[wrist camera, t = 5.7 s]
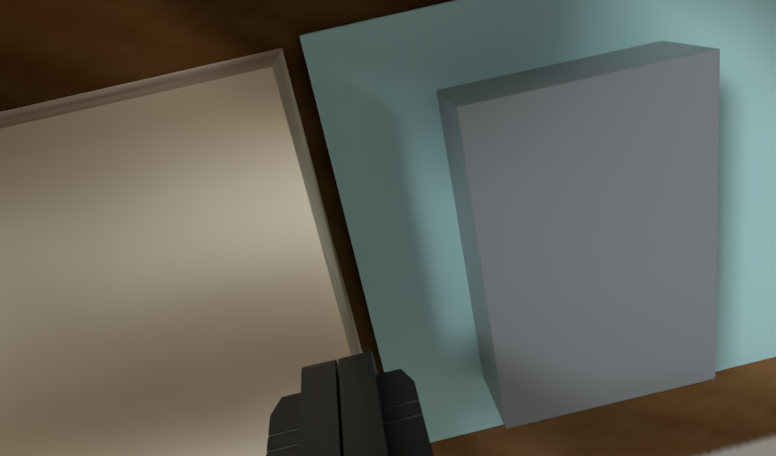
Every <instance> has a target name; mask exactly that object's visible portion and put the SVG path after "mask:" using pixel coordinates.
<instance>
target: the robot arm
mask: <svg viewBox="0 0 776 456" xmlns="http://www.w3.org/2000/svg"><path fill="white" fill-rule="evenodd" d="M268 436H269V438H268V441H267V454H266V456H433V452H432V448H431V444H430V440H429V437H428V433H427V429H426V425H425V421H424V417H423V413H422V409H421V405H420V402H419V398H418V394H417V390H416V386H415V382H414V380H413V379H411V378H410V377H409V376H408V375H407V374H406V373H405V372H404V371H403V370H402V369H397V370H393V371H388V372H384V373H380V374H378V373H377V369H376V365H375V361H374V357H373V354H372V351H369V352H365V353H360V354H356V355H352V356H348V357H343V358H339V359H338V363H337V360H336V359H335V360H331V361H327V362H323V363H318V364H314V365H310V366H306V367H302V371H301V393H296V394H292V395H288V396H284V397H281V399H280V401H279V402H278V404H277V405H276V407H275V409H274V410H273V412H272V413H271V415H270V421H269V431H268Z"/></svg>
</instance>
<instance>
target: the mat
mask: <svg viewBox="0 0 776 456" xmlns="http://www.w3.org/2000/svg"><path fill="white" fill-rule="evenodd" d="M299 37H300V41H301V44H302V48H303V52H304V56H305V60H306V64H307V68H308V72H309V76H310V80H311V84H312V88H313V92H314V96H315V100H316V104H317V108H318V112H319V116H320V120H321V124H322V128H323V132H324V136H325V140H326V144H327V148H328V152H329V156H330V160H331V164H332V167H333V171H334V175H335V179H336V183H337V187H338V191H339V195H340V199H341V203H342V207H343V211H344V215H345V219H346V223H347V227H348V231H349V235H350V239H351V243H352V247H353V251H354V255H355V259H356V263H357V267H358V271H359V275H360V279H361V283H362V287H363V290H364V294H365V298H366V302H367V306H368V310H369V314H370V318H371V322H372V326H373V330H374V334H375V338H376V342H377V346H378V350H379V354H380V358H381V362H382V366H383V370H384V372H388V371H393V370H397V369H402V370H403V371H404V372H405V373H406V374H407V375H408V376H409V377H410V378H411V379H413V380H414V382H415V386H416V390H417V394H418V398H419V402H420V405H421V409H422V413H423V417H424V421H425V425H426V429H427V433H428V437H429V440H430V443H431V442H435V441H439V440H443V439H447V438H451V437H455V436H459V435H463V434H467V433H471V432H475V431H479V430H483V429H487V428H491V427H495V426H499V425H503V424H504V423H503V421H502V419H501V416H500V414H499V412H498V409H497V407H496V405H495V403H494V400H493V398H492V396H491V394H490V391H489V389H488V387H487V385H486V382H485V380H484V378H483V373H482V366H481V360H480V354H479V348H478V342H477V336H476V330H475V324H474V318H473V311H472V305H471V299H470V293H469V287H468V281H467V275H466V269H465V262H464V256H463V250H462V244H461V238H460V232H459V226H458V220H457V213H456V207H455V201H454V195H453V189H452V183H451V177H450V171H449V165H448V158H447V152H446V146H445V140H444V134H443V128H442V122H441V116H440V109H439V103H438V97H437V91H436V90H440V89H444V88H449V87H453V86H458V85H462V84H467V83H471V82H476V81H481V80H485V79H490V78H494V77H499V76H503V75H508V74H512V73H517V72H522V71H526V70H531V69H535V68H540V67H544V66H549V65H553V64H558V63H563V62H567V61H572V60H576V59H581V58H585V57H590V56H594V55H599V54H603V53H608V52H613V51H617V50H622V49H626V48H631V47H635V46H640V45H644V44H649V43H654V42H658V41H669V42H676V43H682V44H689V45H696V46H703V47H710V48H717V49H720V83H719V151H718V219H717V287H716V355H715V372H716V371H720V370H724V369H728V368H732V367H736V366H740V365H744V364H748V363H752V362H756V361H760V360H764V359H768V358H772V357H776V0H453V1H448V2H444V3H440V4H435V5H431V6H426V7H422V8H418V9H413V10H409V11H404V12H400V13H395V14H391V15H387V16H382V17H378V18H373V19H369V20H365V21H360V22H356V23H351V24H347V25H342V26H338V27H334V28H329V29H325V30H320V31H316V32H312V33H307V34H303V35H300V36H299Z"/></svg>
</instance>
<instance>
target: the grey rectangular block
mask: <svg viewBox="0 0 776 456" xmlns="http://www.w3.org/2000/svg"><path fill="white" fill-rule="evenodd" d="M719 83H720V49H717V48H710V47H703V46H696V45H689V44H682V43H676V42H669V41H658V42H654V43H649V44H644V45H640V46H635V47H631V48H626V49H622V50H617V51H613V52H608V53H603V54H599V55H594V56H590V57H585V58H581V59H576V60H572V61H567V62H563V63H558V64H553V65H549V66H544V67H540V68H535V69H531V70H526V71H522V72H517V73H512V74H508V75H503V76H499V77H494V78H490V79H485V80H481V81H476V82H471V83H467V84H462V85H458V86H453V87H449V88H444V89H440V90H436V91H437V97H438V103H439V109H440V116H441V122H442V128H443V134H444V140H445V146H446V152H447V158H448V165H449V171H450V177H451V183H452V189H453V195H454V201H455V207H456V213H457V220H458V226H459V232H460V238H461V244H462V250H463V256H464V262H465V269H466V275H467V281H468V287H469V293H470V299H471V305H472V311H473V318H474V324H475V330H476V336H477V342H478V348H479V354H480V360H481V366H482V373H483V378H484V380H485V382H486V385H487V387H488V389H489V391H490V394H491V396H492V398H493V400H494V403H495V405H496V407H497V409H498V412H499V414H500V416H501V419H502V421H503V423H504V425H505V428H506V429H507V428H512V427H516V426H520V425H524V424H528V423H532V422H537V421H541V420H545V419H549V418H553V417H557V416H562V415H566V414H570V413H574V412H578V411H582V410H586V409H591V408H595V407H599V406H603V405H607V404H611V403H616V402H620V401H624V400H628V399H632V398H636V397H640V396H645V395H649V394H653V393H657V392H661V391H665V390H670V389H674V388H678V387H682V386H686V385H690V384H695V383H699V382H703V381H707V380H711V379H715V355H716V287H717V219H718V151H719Z"/></svg>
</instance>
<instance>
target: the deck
mask: <svg viewBox="0 0 776 456" xmlns="http://www.w3.org/2000/svg"><path fill="white" fill-rule="evenodd" d="M360 353H363V352H362V348H361V344H360V340H359V337H358V333H357V329H356V325H355V322H354V318H353V314H352V310H351V306H350V303H349V299H348V295H347V291H346V288H345V284H344V280H343V276H342V272H341V269H340V265H339V261H338V257H337V254H336V250H335V246H334V242H333V238H332V235H331V231H330V227H329V223H328V219H327V216H326V212H325V208H324V204H323V201H322V197H321V193H320V189H319V185H318V182H317V178H316V174H315V170H314V167H313V163H312V159H311V155H310V151H309V148H308V144H307V140H306V136H305V133H304V129H303V125H302V121H301V117H300V114H299V110H298V106H297V102H296V98H295V95H294V91H293V87H292V83H291V80H290V76H289V72H288V68H287V64H286V61H285V57H284V53H283V49H282V48H279V49H275V50H271V51H266V52H262V53H257V54H253V55H249V56H244V57H240V58H235V59H231V60H227V61H222V62H218V63H213V64H209V65H204V66H200V67H196V68H191V69H187V70H182V71H178V72H174V73H169V74H165V75H160V76H156V77H152V78H147V79H143V80H138V81H134V82H130V83H125V84H121V85H116V86H112V87H107V88H103V89H99V90H94V91H90V92H85V93H81V94H77V95H72V96H68V97H63V98H59V99H55V100H50V101H46V102H41V103H37V104H33V105H28V106H24V107H19V108H15V109H11V110H6V111H2V112H0V456H266V454H267V441H268V438H269V436H268V431H269V421H270V415H271V413H272V412H273V410H274V409H275V407H276V405H277V404H278V402H279V401H280V399H281V397H284V396H288V395H292V394H296V393H301V371H302V367H306V366H310V365H314V364H318V363H323V362H327V361H331V360H335V359H336V360H337V363H338V359H339V358H343V357H348V356H352V355H356V354H360Z"/></svg>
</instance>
